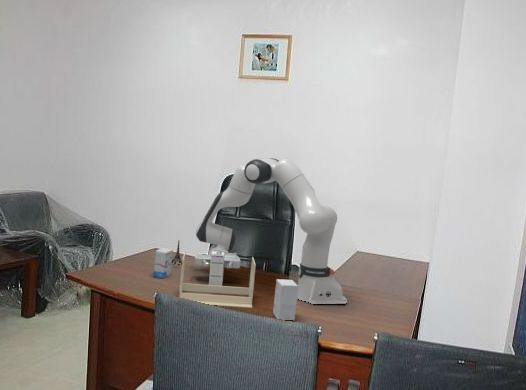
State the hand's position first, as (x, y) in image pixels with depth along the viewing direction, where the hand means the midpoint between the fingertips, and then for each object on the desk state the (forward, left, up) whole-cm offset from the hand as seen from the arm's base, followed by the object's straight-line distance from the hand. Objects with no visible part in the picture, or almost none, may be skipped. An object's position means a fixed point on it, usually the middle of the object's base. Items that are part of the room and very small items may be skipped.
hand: (217, 265), depth 201 cm
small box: (-25, +32, -9) cm, 42 cm away
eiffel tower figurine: (+20, -34, -10) cm, 41 cm away
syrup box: (0, -1, -9) cm, 9 cm away
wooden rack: (0, +15, -9) cm, 18 cm away
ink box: (+24, -11, -9) cm, 28 cm away
